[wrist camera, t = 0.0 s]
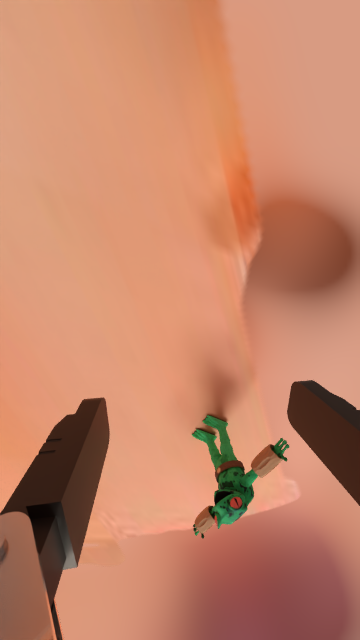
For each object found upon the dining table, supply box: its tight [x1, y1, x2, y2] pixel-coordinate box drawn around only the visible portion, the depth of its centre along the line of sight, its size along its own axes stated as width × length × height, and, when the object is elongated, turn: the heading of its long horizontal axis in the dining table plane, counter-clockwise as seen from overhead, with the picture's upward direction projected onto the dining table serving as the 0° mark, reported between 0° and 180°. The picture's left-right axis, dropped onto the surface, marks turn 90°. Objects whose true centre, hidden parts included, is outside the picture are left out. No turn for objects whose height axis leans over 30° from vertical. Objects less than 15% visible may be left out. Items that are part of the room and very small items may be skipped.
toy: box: [192, 415, 289, 538], centre depth 36 cm, size 26×6×15 cm, turn 150°
